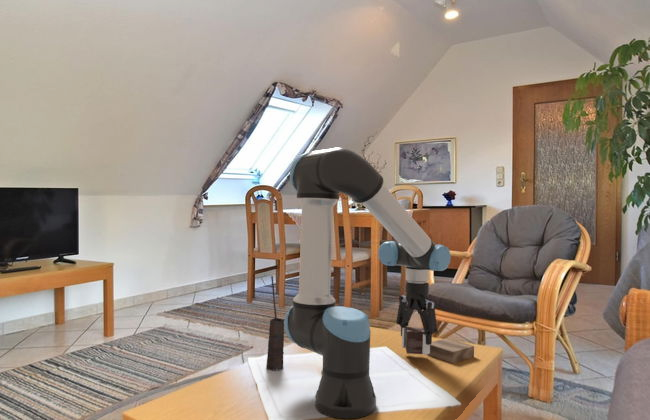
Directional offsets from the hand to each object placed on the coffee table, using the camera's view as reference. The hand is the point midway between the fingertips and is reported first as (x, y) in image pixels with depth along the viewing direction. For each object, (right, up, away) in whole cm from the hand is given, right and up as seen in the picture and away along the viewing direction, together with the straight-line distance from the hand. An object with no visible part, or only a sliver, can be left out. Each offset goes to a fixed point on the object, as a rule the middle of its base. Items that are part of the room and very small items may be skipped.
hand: (415, 350), depth 149 cm
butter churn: (-44, -2, -11) cm, 45 cm away
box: (0, -1, 0) cm, 1 cm away
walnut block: (+12, -3, +3) cm, 13 cm away
